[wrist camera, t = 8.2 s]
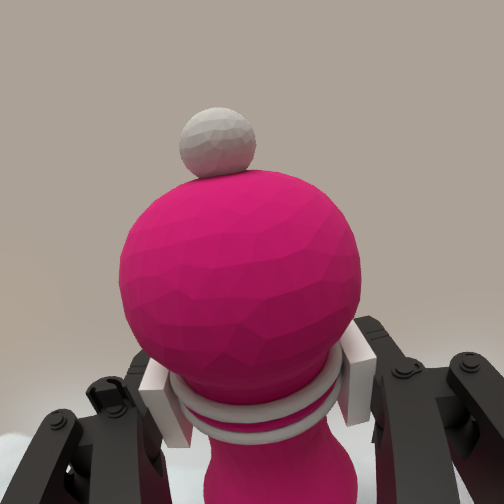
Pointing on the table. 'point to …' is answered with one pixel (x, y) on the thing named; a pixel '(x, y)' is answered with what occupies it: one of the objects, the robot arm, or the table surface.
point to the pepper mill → (248, 316)
